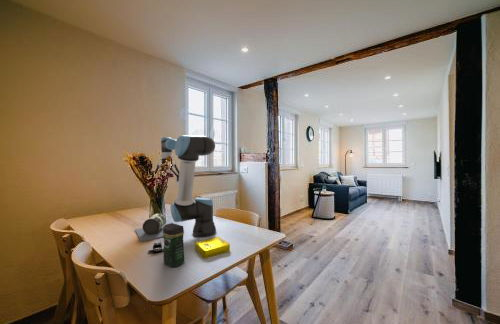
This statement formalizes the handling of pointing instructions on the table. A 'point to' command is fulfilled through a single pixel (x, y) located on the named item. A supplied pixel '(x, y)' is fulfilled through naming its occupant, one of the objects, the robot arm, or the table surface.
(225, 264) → the table surface
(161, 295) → the table surface
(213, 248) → the element tile
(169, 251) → the coffee jar
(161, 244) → the dark grey angular piece
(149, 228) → the coffee can
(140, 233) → the rubber mat
